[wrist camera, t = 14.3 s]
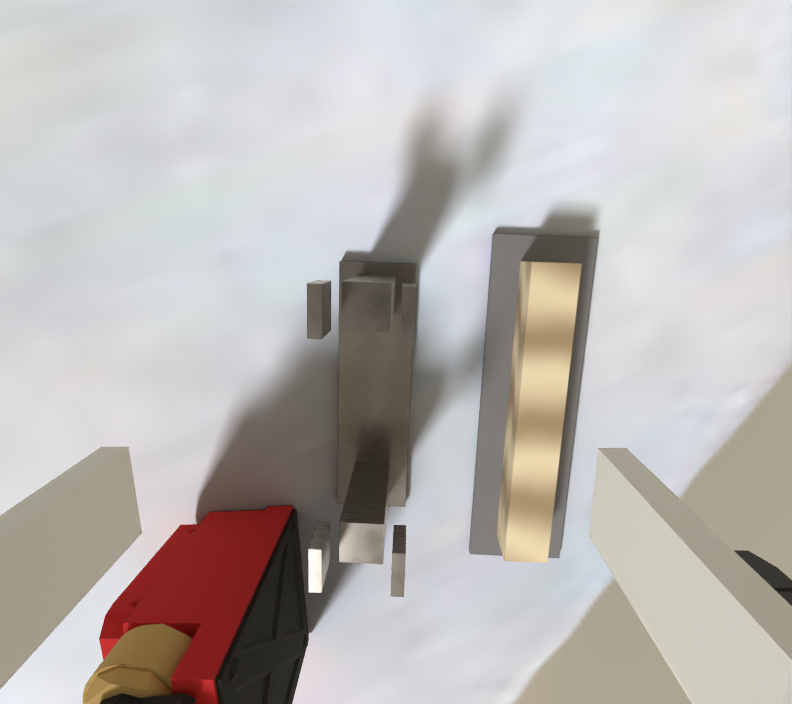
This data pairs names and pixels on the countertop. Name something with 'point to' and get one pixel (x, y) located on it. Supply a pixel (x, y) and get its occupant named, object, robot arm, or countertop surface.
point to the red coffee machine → (210, 617)
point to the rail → (536, 407)
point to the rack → (368, 410)
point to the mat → (498, 373)
